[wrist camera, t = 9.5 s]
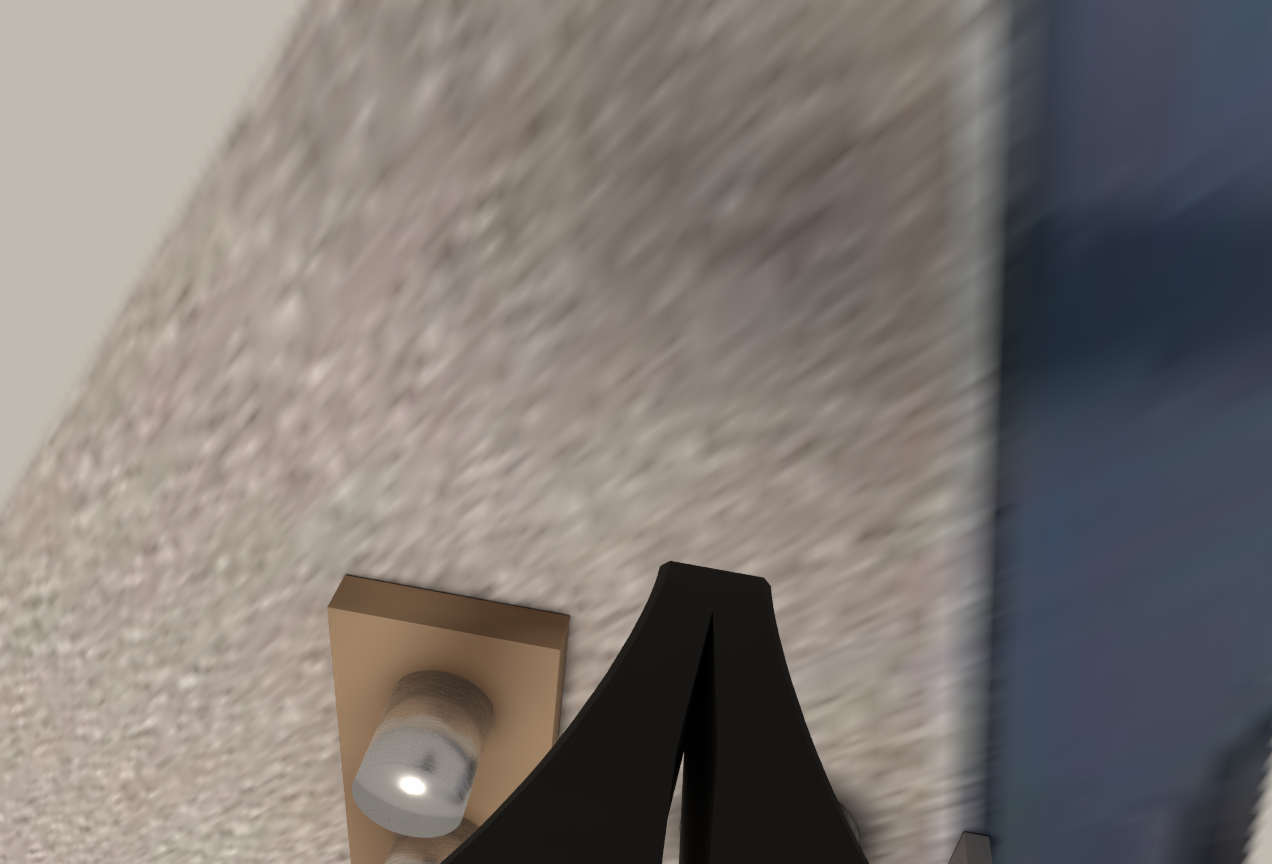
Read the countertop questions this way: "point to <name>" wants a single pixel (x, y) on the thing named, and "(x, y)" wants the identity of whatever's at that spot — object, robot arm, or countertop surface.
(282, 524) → the countertop surface
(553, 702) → the pin board
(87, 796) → the countertop surface
